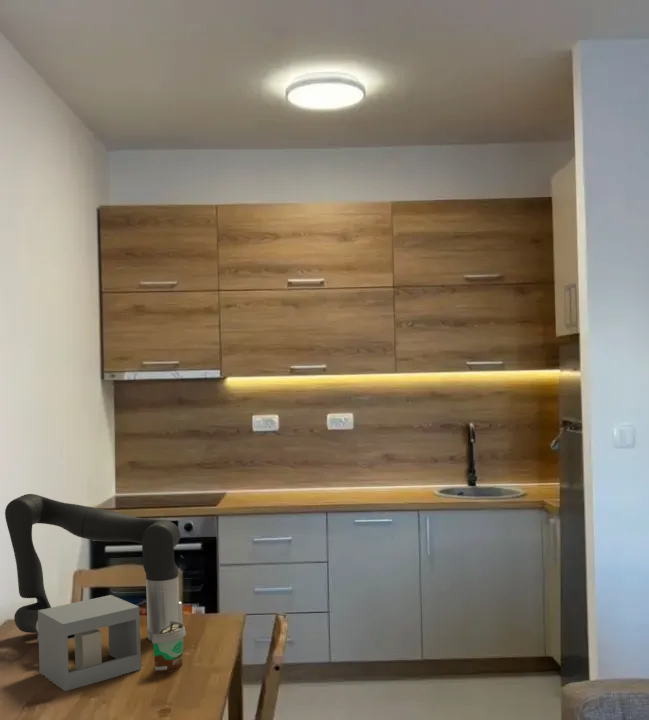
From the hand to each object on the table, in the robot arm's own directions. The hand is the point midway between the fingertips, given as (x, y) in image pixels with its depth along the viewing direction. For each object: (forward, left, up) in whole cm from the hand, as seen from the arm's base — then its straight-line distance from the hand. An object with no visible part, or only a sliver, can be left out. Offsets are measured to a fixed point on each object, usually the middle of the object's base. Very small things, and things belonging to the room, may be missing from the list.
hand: (76, 640), depth 207 cm
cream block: (0, +8, -6) cm, 10 cm away
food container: (-17, +22, -6) cm, 28 cm away
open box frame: (0, +9, -6) cm, 10 cm away
